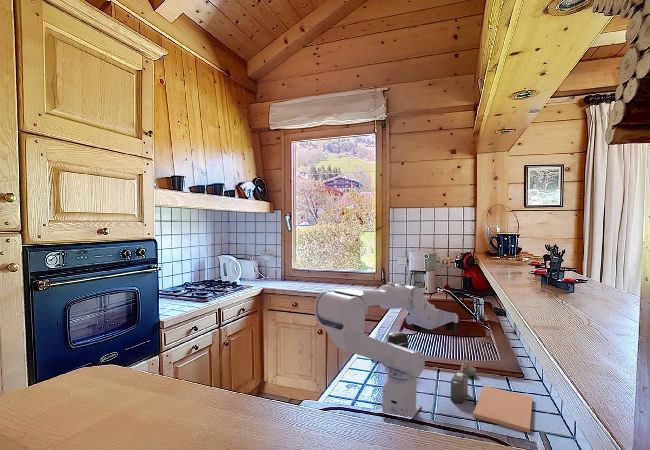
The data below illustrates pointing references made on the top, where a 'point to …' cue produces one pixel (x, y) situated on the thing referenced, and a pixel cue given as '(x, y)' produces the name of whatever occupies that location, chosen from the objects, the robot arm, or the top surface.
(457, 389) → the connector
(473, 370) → the figurine
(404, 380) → the robot arm
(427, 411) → the top surface
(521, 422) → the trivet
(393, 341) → the battery
